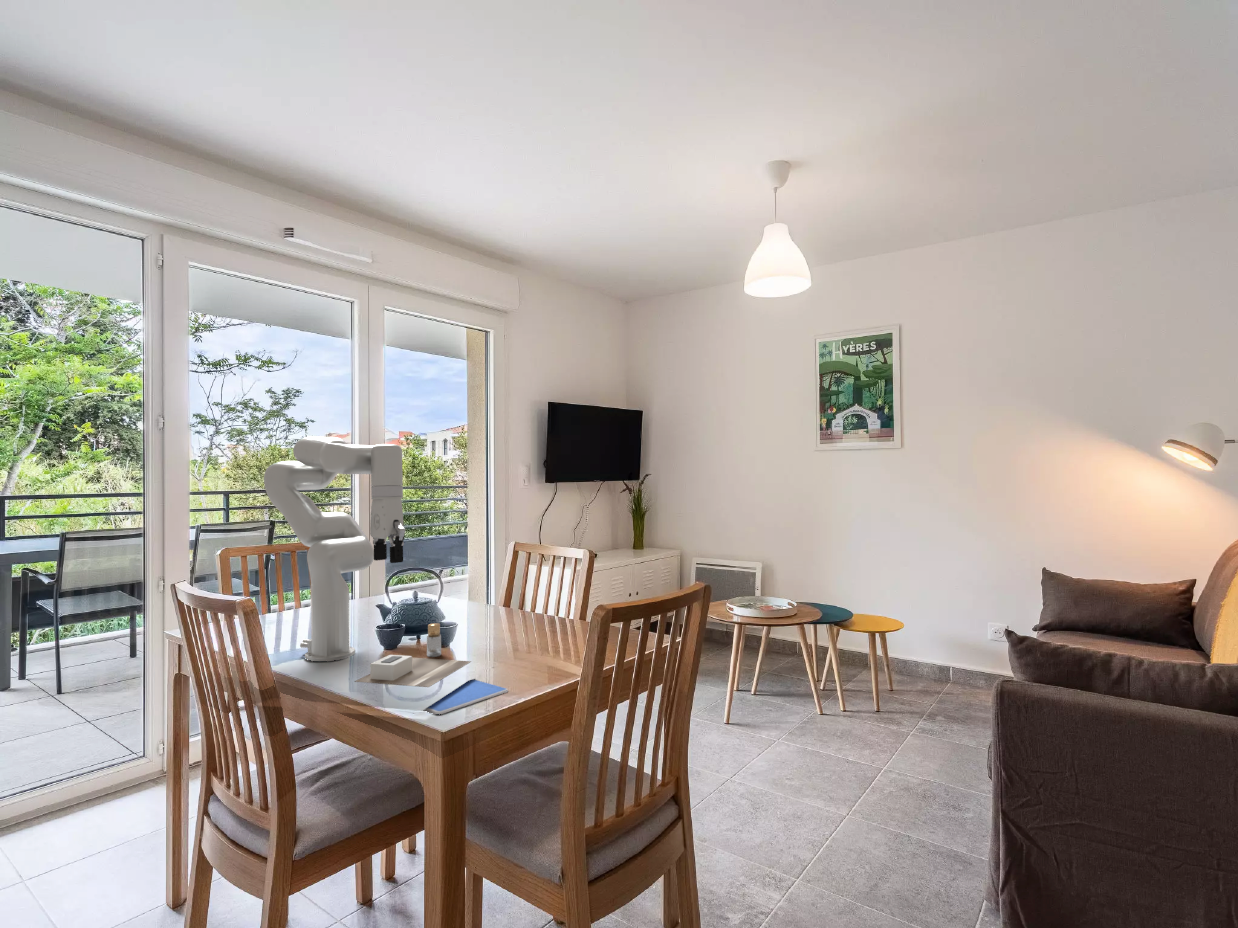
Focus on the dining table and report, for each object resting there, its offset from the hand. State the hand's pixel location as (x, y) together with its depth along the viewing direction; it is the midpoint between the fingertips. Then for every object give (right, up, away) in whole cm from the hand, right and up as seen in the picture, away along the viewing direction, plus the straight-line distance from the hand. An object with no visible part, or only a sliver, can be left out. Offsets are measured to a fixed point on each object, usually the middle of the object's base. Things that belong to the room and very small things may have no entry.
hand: (388, 561), depth 167 cm
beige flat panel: (+9, -27, -6) cm, 29 cm away
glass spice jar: (+9, -27, +8) cm, 30 cm away
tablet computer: (+23, -28, -21) cm, 42 cm away
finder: (+4, -26, -9) cm, 28 cm away
